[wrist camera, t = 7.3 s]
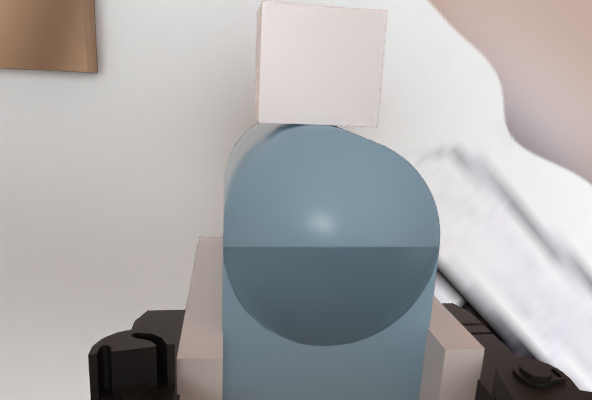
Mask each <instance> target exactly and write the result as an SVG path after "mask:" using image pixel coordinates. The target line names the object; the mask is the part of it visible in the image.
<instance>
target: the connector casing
mask: <svg viewBox="0 0 592 400" xmlns="http://www.w3.org/2000/svg"><path fill="white" fill-rule="evenodd" d="M386 21H387V11H385V10H371V9H357V8H344V7H330V6H317V5H303V4H290V3H276V2H263V1H262V3H261V5H260V8H259V10H258V12H257V46H256V82H255V119H256V120H257V121H258V122H259V123H258V124H256V125H254V126H253V127H252V128H250V129H249V130H248V131H247V132H246V133H245V134H244V135H243V136H242V137H241V138H240V139H239V141H238V142H237V143H236V145H235V146H234V148H233V150H232V152H231V154H230V157H229V159H228V162H227V166H226V171H225V191H224V230H223V289H222V333H223V385H222V400H419V395H420V386H421V378H422V370H423V361H424V353H425V345H426V336H427V328H430V320H431V311H432V303H433V295H434V287H435V279H436V271H437V263H438V254H439V246H440V224H439V217H438V212H437V207H436V204H435V202H434V199H433V196H432V194H431V192H430V190H429V188H428V186H427V184H426V182H425V181H424V180H423V178H422V177H421V175H420V174H419V173H418V171H417V170H416V169H415V168H414V167H413V166H412V165H411V164H410V163H409V162H408V161H407V160H405V159H404V158H403V157H401V156H400V155H399V154H398V153H396V152H394V151H392V150H391V149H389V148H387V147H385V146H383V145H381V144H378V143H376V142H373V141H371V140H369V139H366V138H364V137H361V136H359V135H356V134H354V133H351V132H349V131H346V130H344V129H342V128H339V127H337V126H362V127H377V125H378V114H379V102H380V91H381V79H382V67H383V56H384V44H385V33H386ZM334 125H335V126H334Z"/></svg>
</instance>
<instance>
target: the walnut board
mask: <svg viewBox="0 0 592 400" xmlns="http://www.w3.org/2000/svg"><path fill="white" fill-rule="evenodd" d="M0 68H13V69H33V70H54V71H75V72H95V73H97V52H96V31H95V10H94V0H0Z"/></svg>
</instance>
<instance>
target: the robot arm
mask: <svg viewBox="0 0 592 400" xmlns="http://www.w3.org/2000/svg"><path fill="white" fill-rule="evenodd" d="M222 289H223V237H199V240H198V246H197V251H196V257H195V262H194V267H193V273H192V278H191V284H190V289H189V295H188V300H187V305H186V310H156V311H147V312H146V313H144V314H143V315H142V316H141V317H139V318H138V319H137V320H136V321H135V322H134V324H133V327H132V330H127V331H122V332H118V333H115V334H112V335H110V336H107V337H105V338H103V339H101V340H100V341H99V342H97V343H96V344H95V345H94V346H93V347H92V349H91V351H90V353H89V354H88V358H89V375H90V392H91V400H222V385H223V333H222ZM419 400H592V392H588V391H581V390H579V389H578V388H577V386H576V385H575V384H574V383H573V382H572V380H571V379H570V378H569V377H568V376H566V375H565V374H564V373H563V372H562V371H560V370H559V369H557V368H555V367H553V366H551V365H549V364H546V363H544V362H541V361H538V360H535V359H529V358H523V357H516V356H515V355H514V354H513V353H512V352H511V351H510V350H509V349H508V348H507V347H506V346H505V345H504V344H503V343H502V342H501V341H500V340H499V339H498V338H496V337H495V336H494V335H493V334H491V332H490V331H489V330H488V329H487V328H486V327H485V326H484V325H481V322H480V321H479V320H478V319H477V318H475V317H474V316H473V315H472V314H471V313H470V312H468V311H466V310H465V309H463V308H461V307H459V306H457V305H455V304H453V303H443V304H441V303H440V302H439V300H438V299H437V298H436V297H435V296H434V295H433V303H432V311H431V320H430V328H427V336H426V345H425V353H424V361H423V370H422V378H421V386H420V395H419Z"/></svg>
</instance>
